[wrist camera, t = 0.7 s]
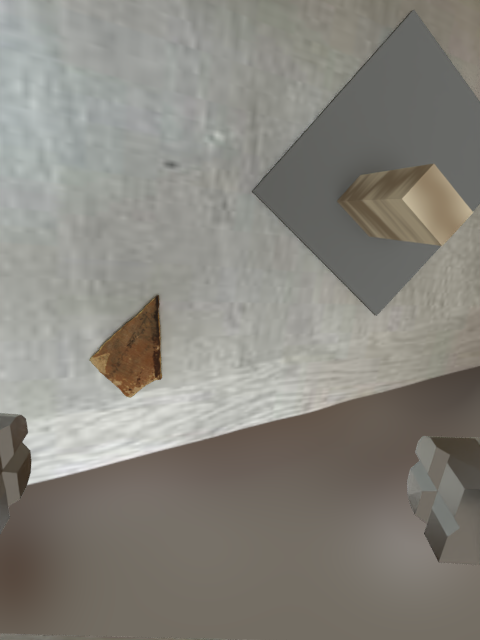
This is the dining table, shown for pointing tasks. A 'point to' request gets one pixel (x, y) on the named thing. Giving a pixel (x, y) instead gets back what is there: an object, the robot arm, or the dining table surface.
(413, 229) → the birch block
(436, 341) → the dining table surface
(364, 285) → the rubber mat
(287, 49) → the dining table surface
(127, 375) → the shard
